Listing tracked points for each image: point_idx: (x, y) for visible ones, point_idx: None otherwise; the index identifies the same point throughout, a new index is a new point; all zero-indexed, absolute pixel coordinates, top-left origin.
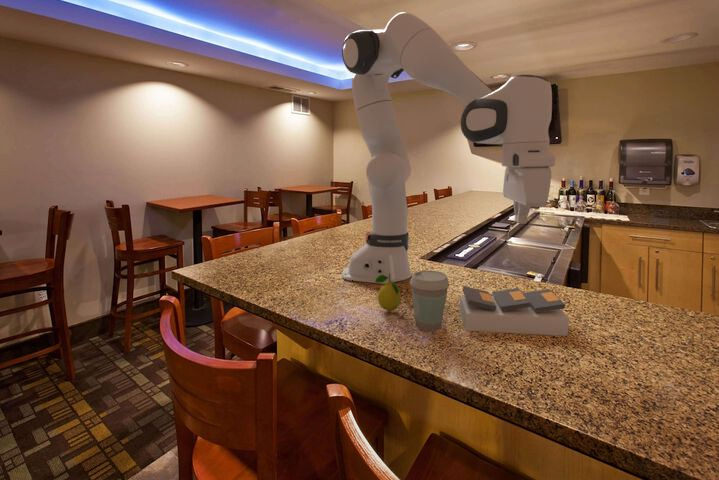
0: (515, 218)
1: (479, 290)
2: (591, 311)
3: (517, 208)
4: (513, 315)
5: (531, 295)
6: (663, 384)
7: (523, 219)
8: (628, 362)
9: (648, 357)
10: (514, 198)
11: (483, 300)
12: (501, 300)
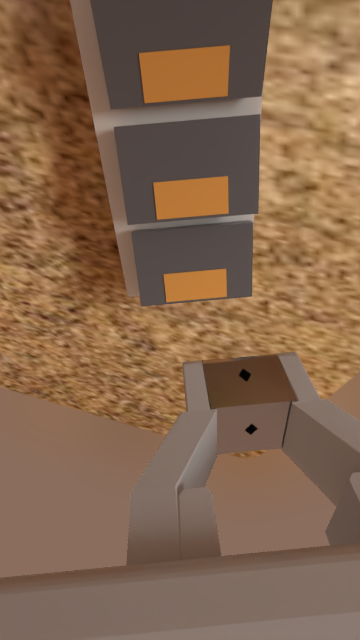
0: (280, 368)
1: (255, 51)
2: (261, 343)
3: (337, 459)
4: (104, 164)
5: (223, 242)
6: (3, 353)
7: (186, 409)
8: (55, 335)
9: (85, 363)
10: (251, 617)
11: (137, 55)
12: (166, 137)
